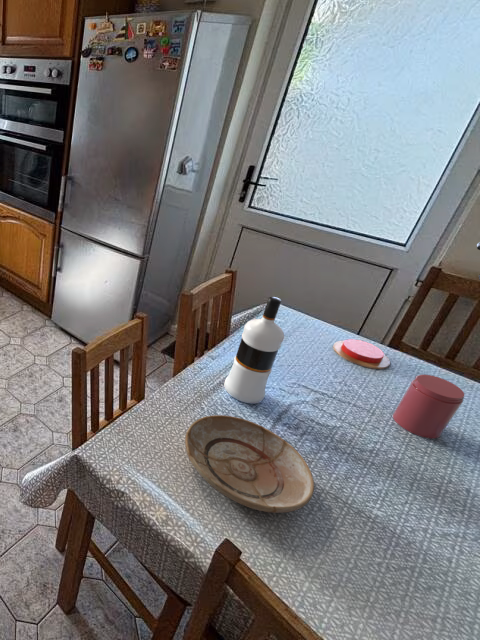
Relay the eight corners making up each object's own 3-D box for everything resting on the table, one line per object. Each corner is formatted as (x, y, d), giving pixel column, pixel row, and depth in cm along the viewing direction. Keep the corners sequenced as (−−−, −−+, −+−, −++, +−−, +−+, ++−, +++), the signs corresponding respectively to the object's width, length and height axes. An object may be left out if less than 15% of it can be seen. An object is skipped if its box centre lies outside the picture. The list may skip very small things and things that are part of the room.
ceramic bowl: (183, 416, 105) (187, 401, 103) (296, 451, 95) (303, 436, 93) (179, 492, 87) (183, 476, 85) (317, 546, 77) (327, 530, 75)
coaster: (391, 354, 125) (392, 353, 125) (387, 375, 117) (388, 373, 117) (336, 336, 134) (337, 335, 134) (329, 354, 126) (330, 353, 126)
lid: (332, 344, 129) (335, 339, 129) (361, 342, 130) (363, 338, 129) (360, 364, 121) (362, 359, 120) (390, 362, 121) (393, 357, 120)
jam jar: (440, 424, 101) (466, 386, 96) (440, 444, 96) (467, 405, 91) (394, 406, 107) (415, 368, 102) (391, 424, 102) (413, 385, 96)
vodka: (215, 386, 115) (243, 293, 102) (239, 377, 118) (270, 286, 105) (246, 409, 107) (281, 312, 94) (271, 399, 110) (308, 304, 97)
